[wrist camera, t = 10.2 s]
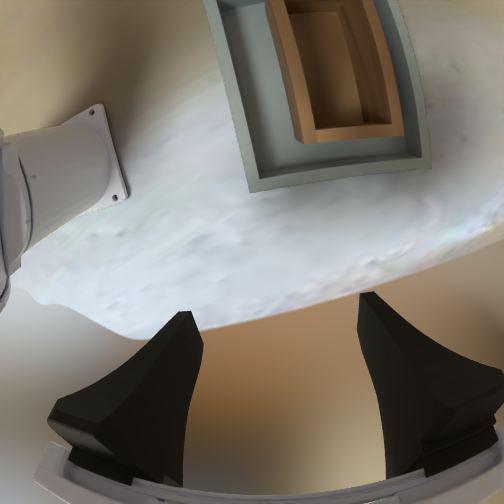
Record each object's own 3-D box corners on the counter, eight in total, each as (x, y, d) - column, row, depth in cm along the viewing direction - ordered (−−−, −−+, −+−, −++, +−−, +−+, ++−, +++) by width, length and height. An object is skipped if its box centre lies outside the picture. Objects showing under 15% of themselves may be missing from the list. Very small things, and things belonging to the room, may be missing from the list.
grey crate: (253, 182, 18) (250, 193, 15) (211, 10, 12) (201, -7, 10) (410, 160, 16) (431, 168, 14) (373, -4, 11) (388, -20, 8)
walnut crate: (295, 139, 16) (304, 145, 11) (265, 13, 12) (262, -22, 7) (370, 130, 15) (404, 135, 11) (341, 7, 11) (362, -24, 7)
